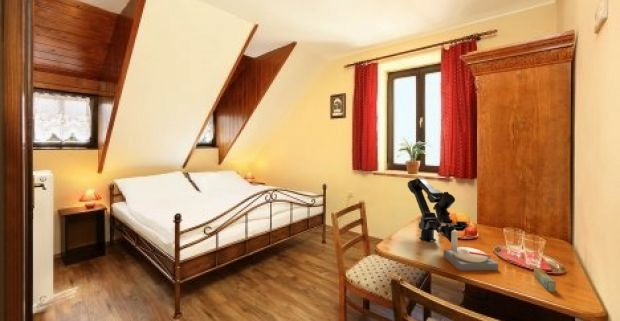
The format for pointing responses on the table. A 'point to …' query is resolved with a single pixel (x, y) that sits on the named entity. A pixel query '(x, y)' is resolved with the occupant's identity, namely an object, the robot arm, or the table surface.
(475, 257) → the dial
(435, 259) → the table surface
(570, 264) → the table surface
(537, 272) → the medication box
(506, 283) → the table surface
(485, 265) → the level stand
